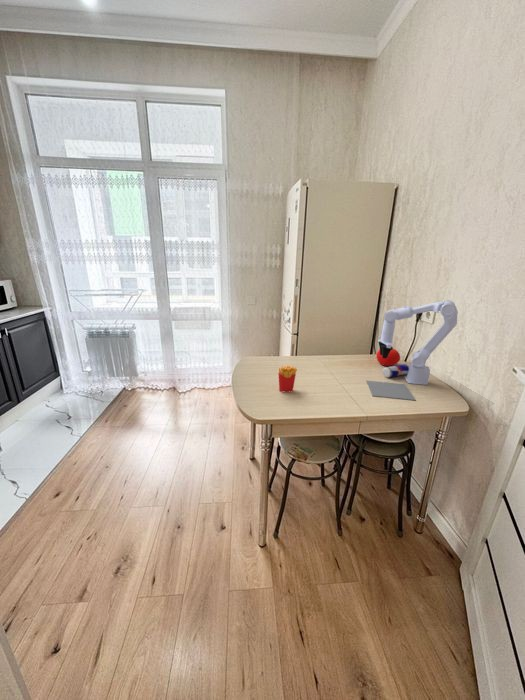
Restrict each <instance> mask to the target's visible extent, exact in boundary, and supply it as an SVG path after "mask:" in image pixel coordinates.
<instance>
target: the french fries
mask: <svg viewBox="0 0 525 700" xmlns="http://www.w3.org/2000/svg"><path fill="white" fill-rule="evenodd" d="M297 371H298V368H297V367H294V366H291V365H287V366H281V367H278V386H279V387H278V388H279V389H278V390H279V392H281V391H285V392H284V393H292V392H293V391H294V386H295V381H296V373H297ZM289 391H290V392H289ZM291 391H292V392H291Z"/></svg>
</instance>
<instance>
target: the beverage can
mask: <svg viewBox="0 0 525 700" xmlns="http://www.w3.org/2000/svg"><path fill="white" fill-rule="evenodd" d="M408 371H409V365H408V364H405V363H403V364H398V365H397V364H396V365H392V366H385V367H383V369H382V375H383V376H384V378H387V379H388V378H394V377H398V376H402V375H403V376H405V375H408Z"/></svg>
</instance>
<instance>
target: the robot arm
mask: <svg viewBox="0 0 525 700" xmlns="http://www.w3.org/2000/svg"><path fill="white" fill-rule="evenodd" d="M428 312H435V313H437V314H439V313H440V314H441V315H442V316H443V321H444V322H443V323H442V325H440V327H439V328H438V329H437V330H436V331H435V333H434V334H433V335H432V336H431V337H430V338H429V339H428V341H427V342H425V344H424V345H423V346H422V347H421V348H420V349H419V350H417V351H415V352H414V353H413V354H412V359H411V361H410V363H409V365H408V367H409V371H408V373H407V374H406V375H407V376H404V379H405V381H406V383H408V384H413V385H424V386H428V384H429V377H430V374H431V369H430V367H429V366H426V363H427V362H426V361H427V360H428V359H429V358H430V355H431V354H432V353H433V351H435V350H436V348H437V347H438V346H439V345H440V344H441V343H442V342H443V341H444V340H445V339H446V337H447V336H449V334H450V333H451V332H452V330H454V328H455V327H456V326H457V324H458V313H459V312H458V309H457V305H456V303H455V302H454V301H452V300H445V301H437V302H436V301H435V302H432V303H427V304H423V305H420V306H415V307H411V306H410V305H409V306H408V305H403V307H399V308H393V309H389V310H387V311H386V312H385V313H384V316H383V318H384V320H383V324H382V331H381V334H380V335H381V336H380V339H377V341H378V346H379V350H380V355H382V358H385V359H387V357H388V355H389V353H390V351H391V350H392V349H394V347H393V346H392V344H393V338H394V332H395V326H396V320H397V321H399V320H405V319H409V318H412V317H413V316H414V315H416V314H422V313H428Z"/></svg>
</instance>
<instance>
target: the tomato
mask: <svg viewBox="0 0 525 700" xmlns="http://www.w3.org/2000/svg"><path fill="white" fill-rule="evenodd" d="M376 360H377V362H378V363H379V364H381V365H382V366H385V367H391V366H396V365H397V364H398V363H399V362H400V360H401V355H400V353H399V351H398V350H397V349H395V348H393V349H392V350H391V351H390V353H389V355H388V357H387V359H385V358H382V355H380V349H378V350H377V352H376Z"/></svg>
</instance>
